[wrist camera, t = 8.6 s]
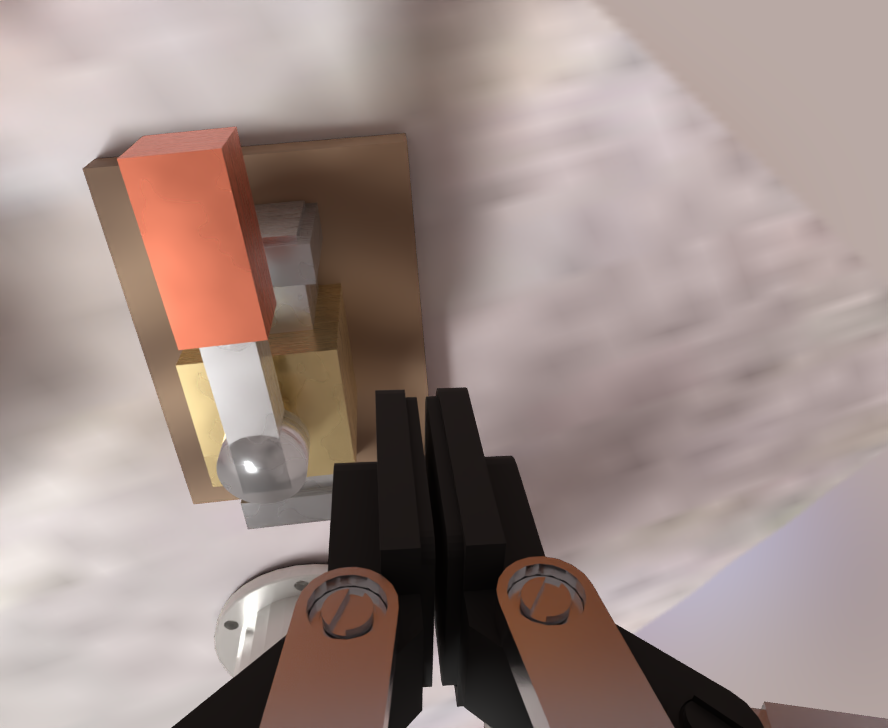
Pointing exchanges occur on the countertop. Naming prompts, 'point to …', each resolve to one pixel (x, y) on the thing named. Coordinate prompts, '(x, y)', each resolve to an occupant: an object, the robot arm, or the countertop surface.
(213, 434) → the ball valve
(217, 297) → the lever
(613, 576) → the countertop surface
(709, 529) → the countertop surface
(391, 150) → the board
